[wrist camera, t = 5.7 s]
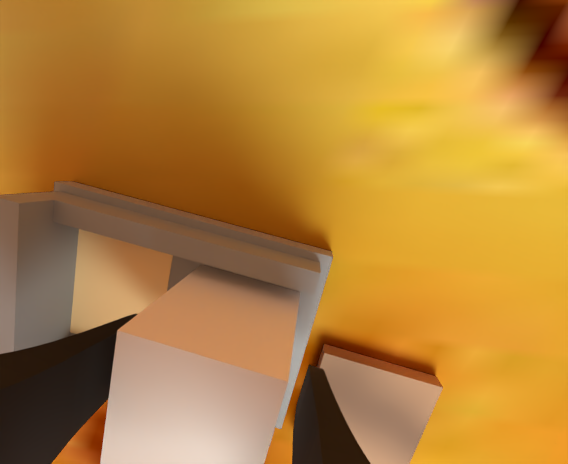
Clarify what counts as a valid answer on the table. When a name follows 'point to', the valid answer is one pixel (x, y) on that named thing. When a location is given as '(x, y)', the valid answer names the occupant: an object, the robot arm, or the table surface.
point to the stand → (381, 402)
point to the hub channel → (129, 263)
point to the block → (201, 373)
